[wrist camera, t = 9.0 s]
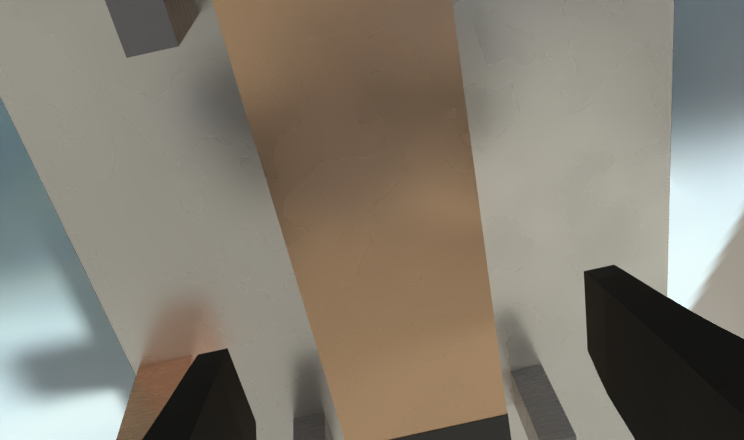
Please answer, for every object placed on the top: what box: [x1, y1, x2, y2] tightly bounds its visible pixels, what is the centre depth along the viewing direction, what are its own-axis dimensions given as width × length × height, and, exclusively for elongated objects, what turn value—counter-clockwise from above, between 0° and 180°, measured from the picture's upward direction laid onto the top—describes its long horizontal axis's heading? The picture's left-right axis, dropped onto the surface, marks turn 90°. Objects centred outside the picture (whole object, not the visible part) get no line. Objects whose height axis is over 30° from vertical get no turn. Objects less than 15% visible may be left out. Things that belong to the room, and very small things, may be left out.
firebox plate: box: [0, 0, 674, 440], centre depth 17 cm, size 16×24×5 cm, turn 11°
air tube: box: [212, 0, 511, 440], centre depth 17 cm, size 18×4×4 cm, turn 11°
